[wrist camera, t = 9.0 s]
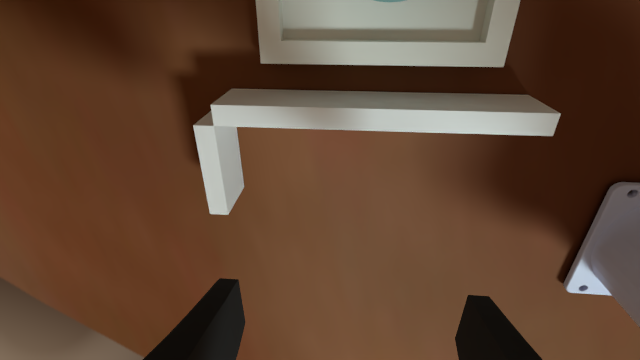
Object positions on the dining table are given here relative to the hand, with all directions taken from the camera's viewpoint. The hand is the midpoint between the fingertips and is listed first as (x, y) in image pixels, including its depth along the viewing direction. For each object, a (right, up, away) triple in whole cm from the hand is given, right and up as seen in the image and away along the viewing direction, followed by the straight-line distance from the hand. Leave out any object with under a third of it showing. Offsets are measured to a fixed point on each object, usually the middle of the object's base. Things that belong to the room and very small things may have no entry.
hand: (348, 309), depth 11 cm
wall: (+1, +6, +8) cm, 10 cm away
